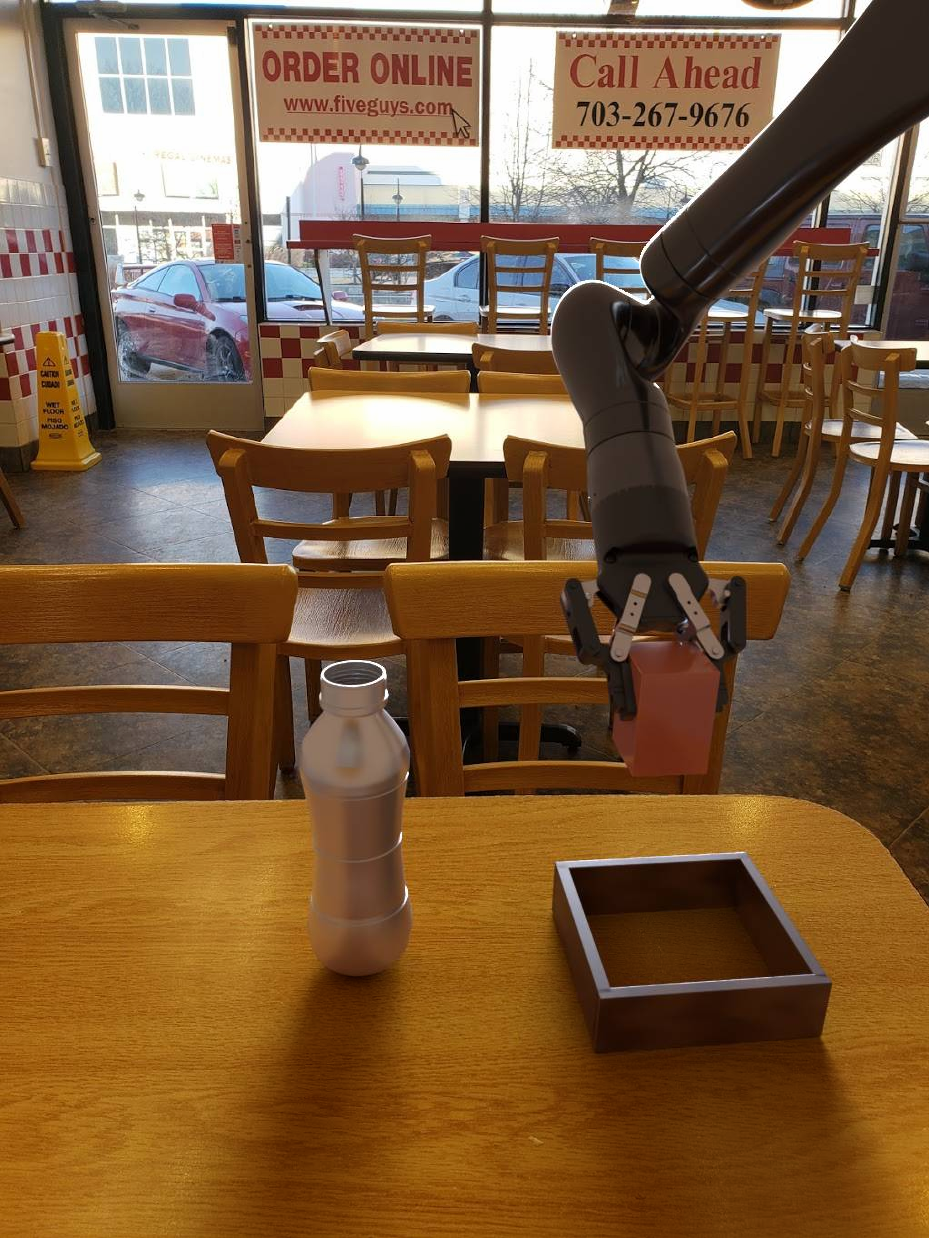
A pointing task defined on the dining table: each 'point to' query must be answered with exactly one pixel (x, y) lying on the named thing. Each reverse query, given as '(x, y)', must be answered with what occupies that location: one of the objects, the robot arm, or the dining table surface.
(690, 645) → the red rectangular block
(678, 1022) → the dark brown wooden tray
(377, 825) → the plastic bottle
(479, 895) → the dining table surface
